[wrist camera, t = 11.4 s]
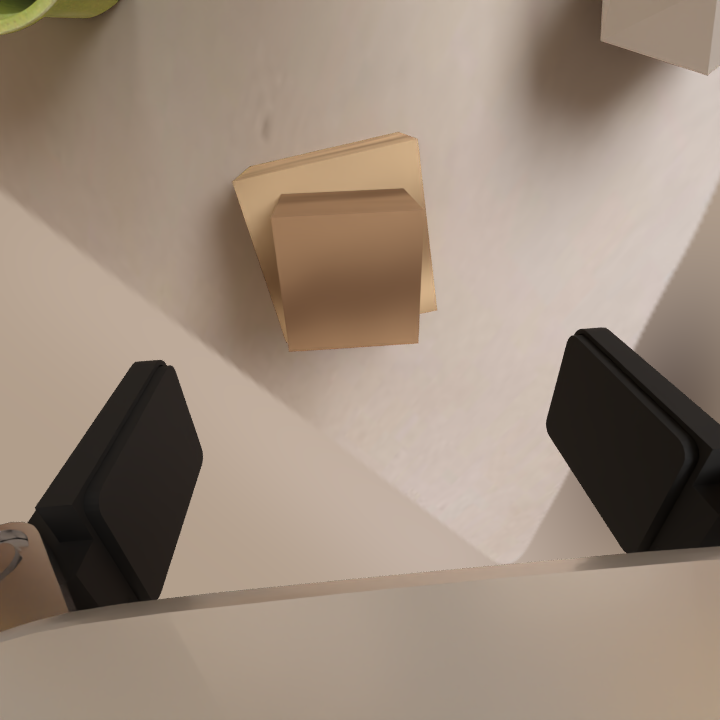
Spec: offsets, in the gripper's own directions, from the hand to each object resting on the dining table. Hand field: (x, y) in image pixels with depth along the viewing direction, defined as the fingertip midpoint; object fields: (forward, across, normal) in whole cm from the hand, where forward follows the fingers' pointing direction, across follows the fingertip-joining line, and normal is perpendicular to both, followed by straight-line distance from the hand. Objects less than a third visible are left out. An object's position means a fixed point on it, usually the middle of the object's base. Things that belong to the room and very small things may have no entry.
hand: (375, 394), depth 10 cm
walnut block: (+14, 0, +1) cm, 14 cm away
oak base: (+20, 0, +1) cm, 20 cm away
